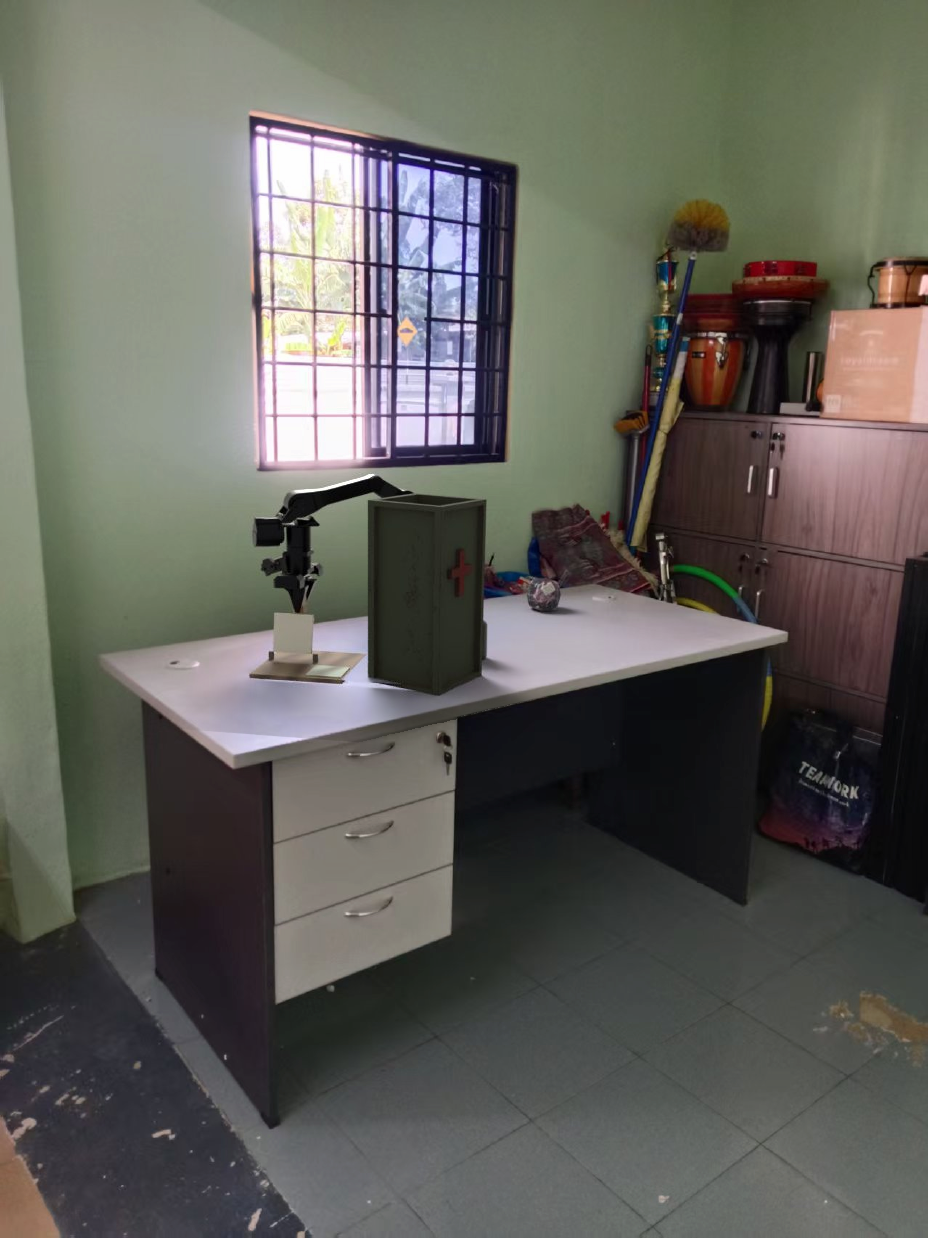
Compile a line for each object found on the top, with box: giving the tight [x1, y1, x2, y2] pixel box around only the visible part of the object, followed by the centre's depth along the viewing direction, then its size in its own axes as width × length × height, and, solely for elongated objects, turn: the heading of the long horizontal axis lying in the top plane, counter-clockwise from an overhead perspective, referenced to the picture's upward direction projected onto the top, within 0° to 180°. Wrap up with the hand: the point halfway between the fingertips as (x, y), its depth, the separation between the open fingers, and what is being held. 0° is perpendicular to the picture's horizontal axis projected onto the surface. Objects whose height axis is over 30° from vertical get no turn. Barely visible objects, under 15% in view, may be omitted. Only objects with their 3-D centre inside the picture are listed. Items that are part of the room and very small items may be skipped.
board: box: [248, 649, 367, 685], centre depth 225 cm, size 21×22×3 cm
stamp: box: [292, 596, 315, 624], centre depth 229 cm, size 6×6×8 cm
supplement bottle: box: [482, 611, 488, 661], centre depth 235 cm, size 7×7×12 cm
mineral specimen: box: [526, 577, 562, 612], centre depth 290 cm, size 10×10×10 cm
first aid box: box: [367, 492, 488, 697], centre depth 215 cm, size 18×18×40 cm
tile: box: [272, 612, 315, 654], centre depth 226 cm, size 9×9×1 cm
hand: (299, 611), depth 230 cm, fingers open, 3 cm apart
